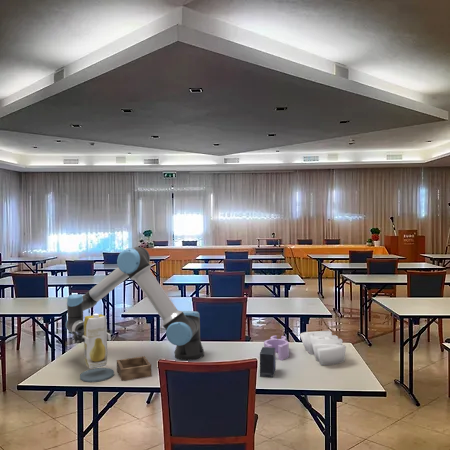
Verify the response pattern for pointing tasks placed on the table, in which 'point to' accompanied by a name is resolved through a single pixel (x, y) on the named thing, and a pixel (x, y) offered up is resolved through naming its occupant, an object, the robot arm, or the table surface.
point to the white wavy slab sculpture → (324, 347)
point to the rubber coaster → (97, 374)
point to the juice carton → (95, 340)
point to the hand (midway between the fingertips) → (99, 339)
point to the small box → (267, 362)
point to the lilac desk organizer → (278, 346)
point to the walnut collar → (133, 368)
